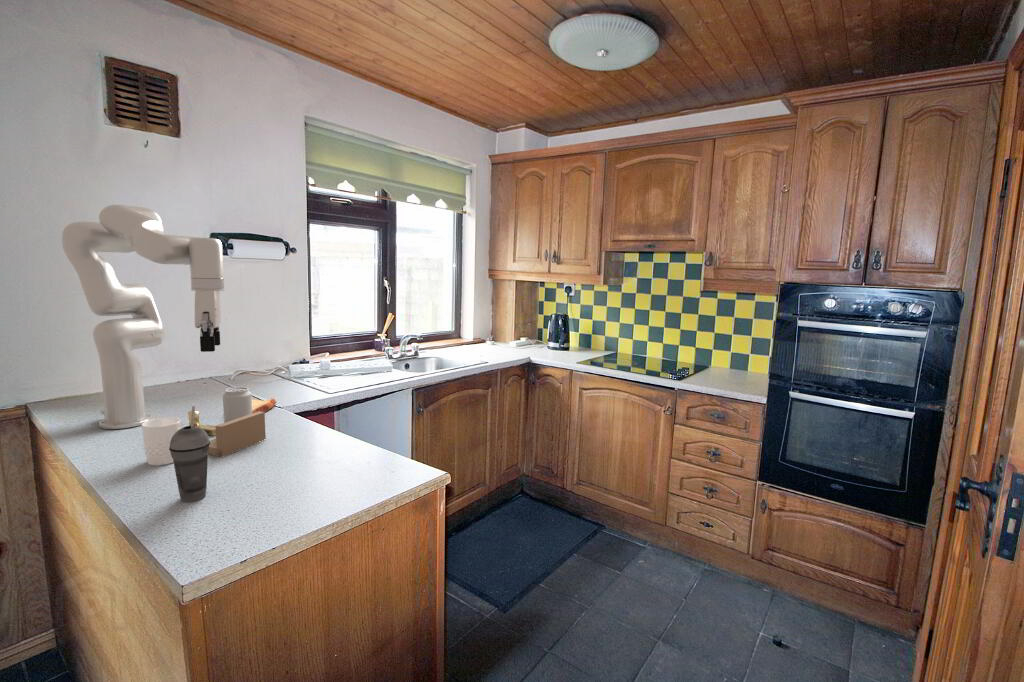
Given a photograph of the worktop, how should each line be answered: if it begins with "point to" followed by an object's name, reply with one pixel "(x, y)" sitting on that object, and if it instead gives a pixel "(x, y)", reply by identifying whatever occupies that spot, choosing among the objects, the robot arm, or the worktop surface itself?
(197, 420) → the bolt
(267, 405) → the slice of bread
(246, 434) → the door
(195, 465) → the beverage cup
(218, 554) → the worktop surface
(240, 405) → the can
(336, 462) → the worktop surface
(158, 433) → the white cup
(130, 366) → the robot arm
